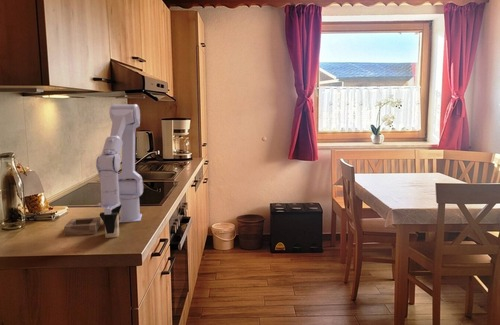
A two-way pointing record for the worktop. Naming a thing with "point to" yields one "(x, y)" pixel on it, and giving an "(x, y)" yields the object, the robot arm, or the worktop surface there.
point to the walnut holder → (82, 226)
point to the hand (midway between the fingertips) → (112, 229)
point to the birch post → (116, 232)
